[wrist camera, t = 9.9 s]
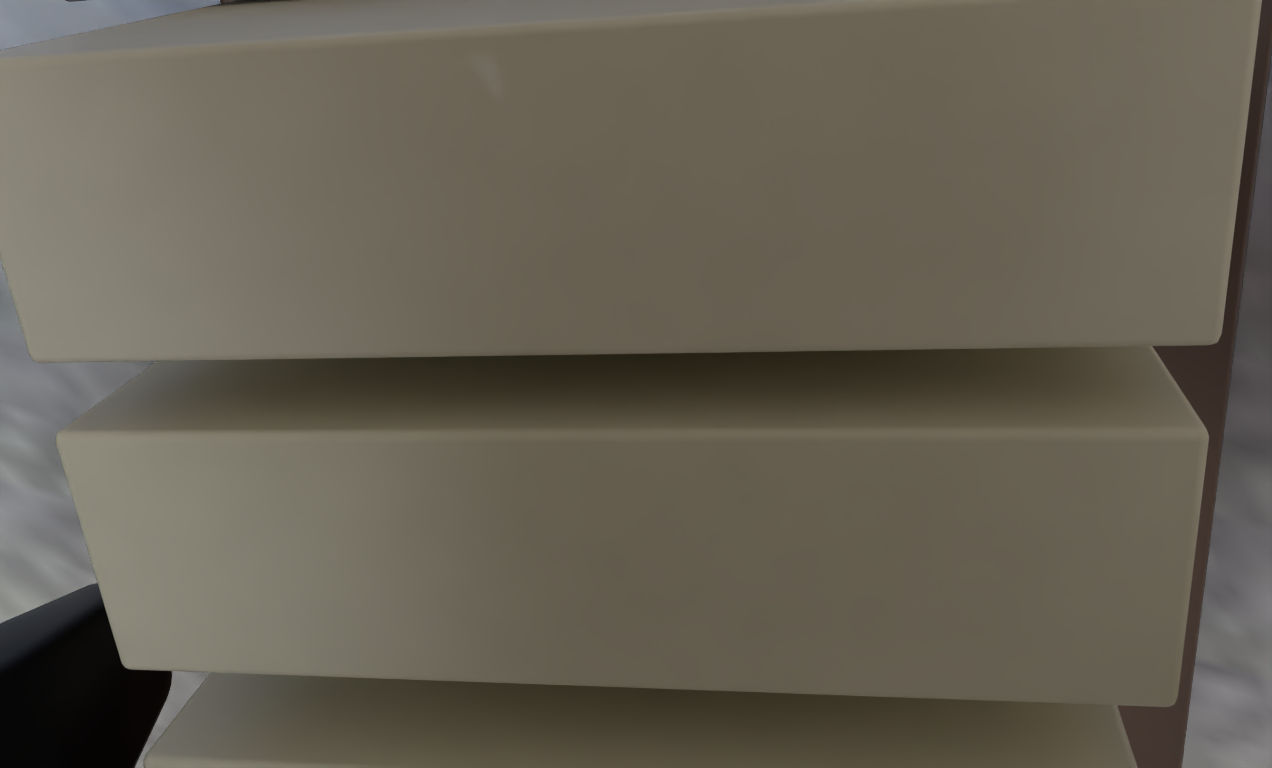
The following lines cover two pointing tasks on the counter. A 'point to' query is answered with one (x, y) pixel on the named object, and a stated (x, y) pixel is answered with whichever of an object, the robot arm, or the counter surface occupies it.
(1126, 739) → the cream book
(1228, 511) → the counter surface
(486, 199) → the cream book
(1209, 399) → the book rack
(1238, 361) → the counter surface
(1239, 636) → the counter surface
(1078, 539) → the cream book
